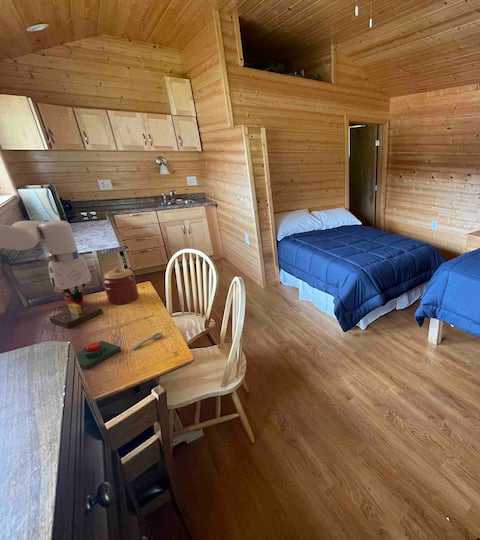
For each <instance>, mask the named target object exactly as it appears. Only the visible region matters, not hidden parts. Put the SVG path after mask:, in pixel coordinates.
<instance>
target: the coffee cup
mask: <svg viewBox="0 0 480 540" xmlns="http://www.w3.org/2000/svg"><path fill="white" fill-rule="evenodd" d="M73 289H74V287H73ZM61 293H62V295H63V298H64V300H65V302H66V304H67V306H68V304H69V303H71V302H72V303H74V304H77V305H82V304H85V299H84V294H83V293H84V292H82V296H83V298H82V299H83V301H82V302H80V303H76V302H73V301H71V299H70V295H69V293H67V292H61Z"/></svg>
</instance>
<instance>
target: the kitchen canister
mask: <svg viewBox="0 0 480 540" xmlns="http://www.w3.org/2000/svg"><path fill="white" fill-rule="evenodd" d="M102 283H103V284H104V286H103V288H104V290H105V293H106V299H107V301H108V303H109V304H111V305H125V304H128V303H131V302H134V301H137V299H139V297H140V294H139V289H138V285H137V280H136V275H135V274H134V273H133V271H132V270H130V269H127V268H120V267H117V266H115V267H114V268H113V269H111V270H109V271H107V272H106V273H104V274H103V279H102Z"/></svg>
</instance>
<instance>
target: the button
mask: <svg viewBox="0 0 480 540" xmlns="http://www.w3.org/2000/svg"><path fill="white" fill-rule="evenodd" d="M85 347H86V348H87V351H88V352H93V351H96V350H98V349H99V348H100V347H99V344H98V342H91V343H89V344H87V345H86V346H85Z"/></svg>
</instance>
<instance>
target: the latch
mask: <svg viewBox="0 0 480 540" xmlns="http://www.w3.org/2000/svg"><path fill="white" fill-rule="evenodd" d="M67 307H68V310H70V312H72V313H75V314H78V315H79V314H81V313H82V310H81V307H80V305H77V304H74V303H72V302H71V303H69V304H68V305H67Z"/></svg>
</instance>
